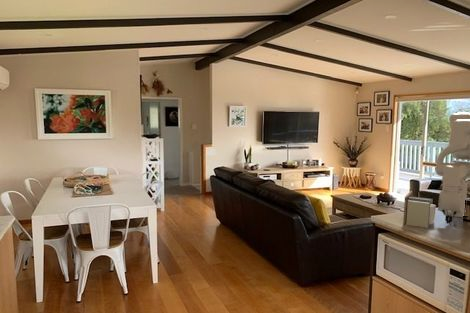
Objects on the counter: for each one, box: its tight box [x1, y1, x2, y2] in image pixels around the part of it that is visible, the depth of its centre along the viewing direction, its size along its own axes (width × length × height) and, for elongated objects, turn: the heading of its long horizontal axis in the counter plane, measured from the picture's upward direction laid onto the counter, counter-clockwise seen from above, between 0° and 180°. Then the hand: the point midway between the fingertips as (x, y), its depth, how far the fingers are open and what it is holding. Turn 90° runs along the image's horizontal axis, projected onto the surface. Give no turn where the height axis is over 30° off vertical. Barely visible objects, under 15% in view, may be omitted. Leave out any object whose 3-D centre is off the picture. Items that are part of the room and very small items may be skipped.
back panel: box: [402, 190, 413, 225], centre depth 192 cm, size 19×1×15 cm, turn 145°
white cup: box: [429, 203, 437, 225], centre depth 188 cm, size 8×8×10 cm
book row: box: [405, 196, 430, 229], centre depth 183 cm, size 6×10×14 cm, turn 55°
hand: (448, 222), depth 183 cm, fingers closed
